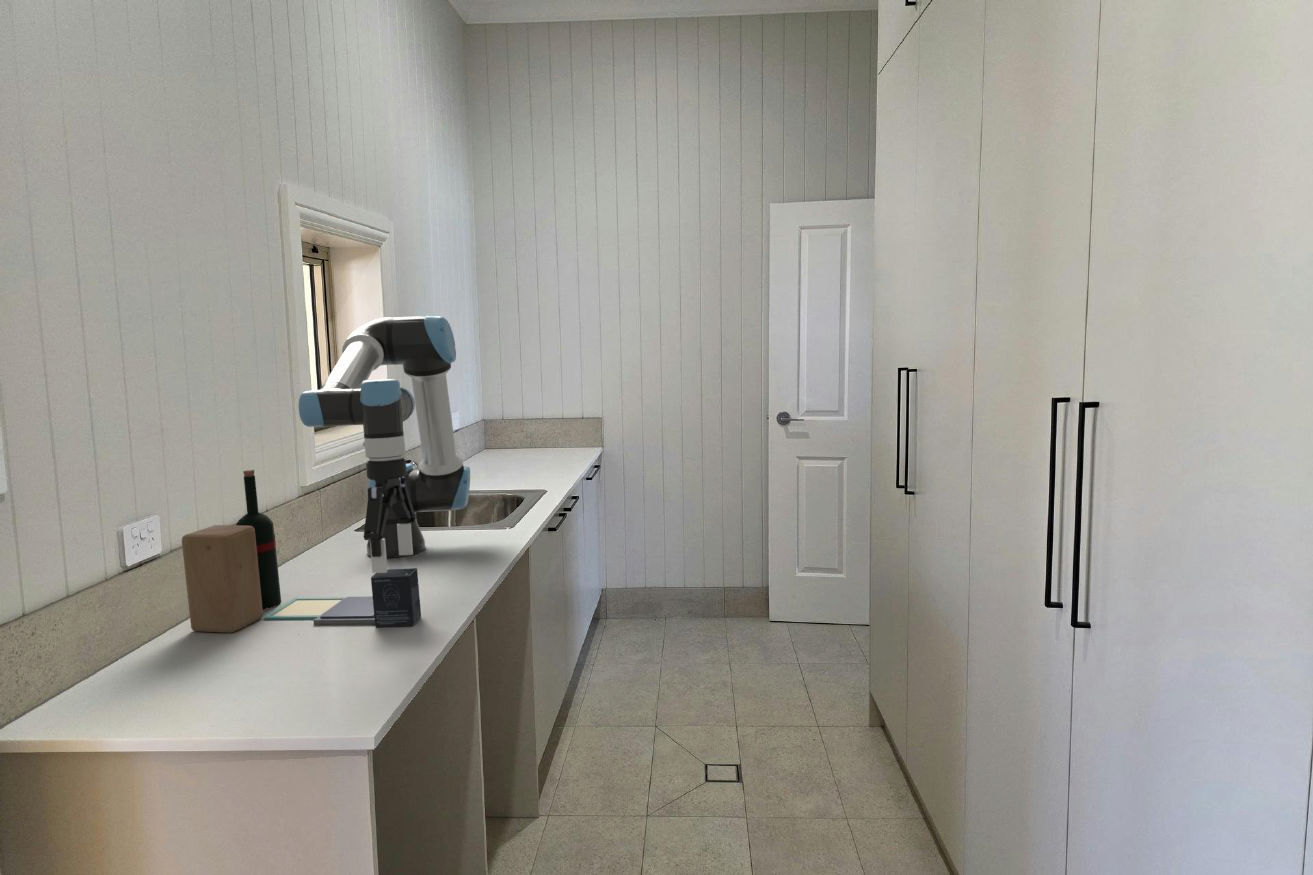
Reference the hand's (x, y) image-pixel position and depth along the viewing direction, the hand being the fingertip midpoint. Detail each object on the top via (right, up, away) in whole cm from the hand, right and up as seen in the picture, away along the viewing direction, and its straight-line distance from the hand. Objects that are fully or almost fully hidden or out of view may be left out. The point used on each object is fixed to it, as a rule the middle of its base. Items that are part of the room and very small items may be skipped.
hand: (393, 563), depth 170 cm
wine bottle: (-34, -12, +19) cm, 41 cm away
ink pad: (-10, -12, +10) cm, 18 cm away
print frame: (-22, -12, +13) cm, 28 cm away
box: (0, -13, +2) cm, 13 cm away
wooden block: (-35, -14, +5) cm, 38 cm away
